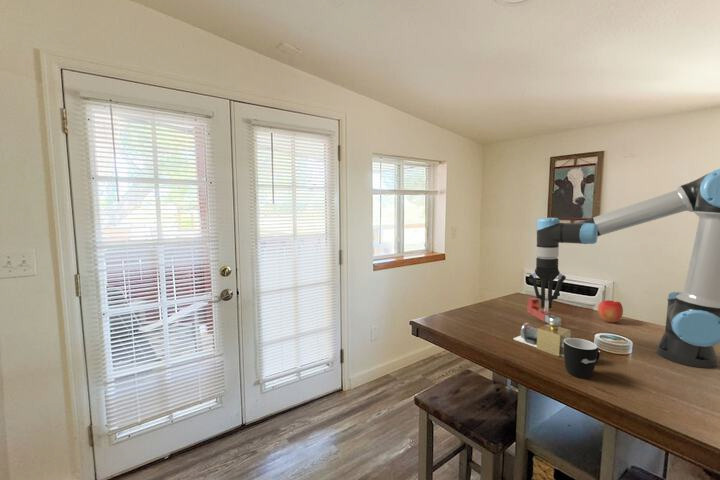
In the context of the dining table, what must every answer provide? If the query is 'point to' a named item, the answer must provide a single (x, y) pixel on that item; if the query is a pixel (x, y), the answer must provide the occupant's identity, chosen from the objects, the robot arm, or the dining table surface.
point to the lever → (541, 313)
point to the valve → (546, 337)
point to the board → (529, 343)
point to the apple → (610, 310)
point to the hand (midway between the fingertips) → (546, 315)
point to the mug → (580, 357)
